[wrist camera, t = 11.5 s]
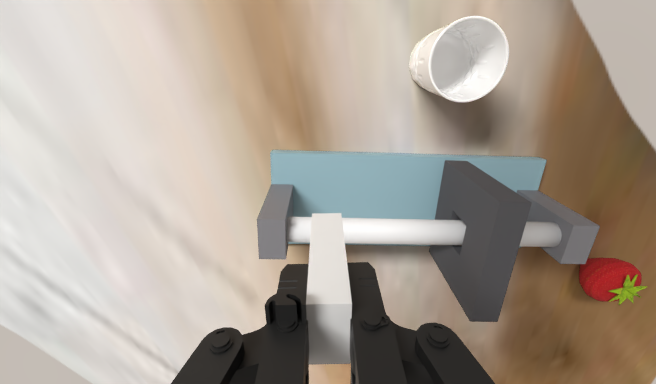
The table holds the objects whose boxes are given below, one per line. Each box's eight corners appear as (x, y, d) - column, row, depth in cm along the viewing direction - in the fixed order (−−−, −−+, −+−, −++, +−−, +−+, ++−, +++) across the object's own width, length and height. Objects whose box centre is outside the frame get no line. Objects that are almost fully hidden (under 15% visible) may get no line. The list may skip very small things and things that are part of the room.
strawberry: (555, 256, 52) (606, 298, 43) (602, 236, 51) (665, 274, 42) (564, 282, 54) (615, 327, 45) (609, 263, 53) (671, 306, 44)
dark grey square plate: (429, 251, 48) (470, 321, 35) (444, 160, 42) (500, 202, 29) (449, 251, 48) (497, 321, 35) (467, 160, 43) (531, 202, 30)
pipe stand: (274, 238, 50) (260, 291, 38) (272, 149, 45) (254, 179, 33) (515, 242, 51) (573, 295, 39) (539, 157, 46) (614, 188, 34)
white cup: (473, 78, 42) (517, 82, 32) (415, 104, 43) (442, 115, 33) (456, 15, 39) (498, 0, 30) (395, 45, 40) (418, 39, 31)
